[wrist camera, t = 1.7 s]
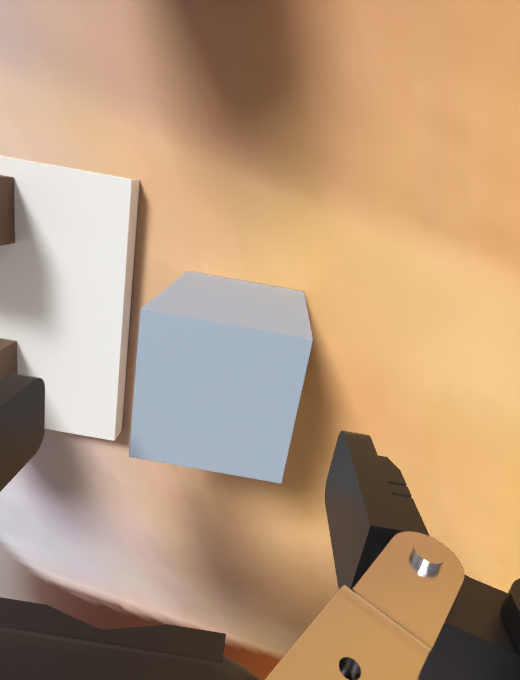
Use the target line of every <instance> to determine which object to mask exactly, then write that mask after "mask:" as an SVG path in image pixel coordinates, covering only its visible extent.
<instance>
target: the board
mask: <svg viewBox="0 0 520 680" xmlns="http://www.w3.org/2000/svg"><path fill="white" fill-rule="evenodd" d="M0 175H4V176H9V177H14V209H15V243H12V244H7V245H2V246H0V338H2V339H8V340H14V341H17V374H20V375H26V376H32V377H38V378H42V379H43V381H44V383H45V427H44V429H50V430H55V431H61V432H67V433H72V434H78V435H84V436H89V437H95V438H101V439H106V440H112V441H115V439H116V438H117V436H118V435H119V434H120V432H121V431H122V420H123V406H124V392H125V378H126V364H127V350H128V336H129V322H130V308H131V294H132V280H133V266H134V252H135V238H136V224H137V210H138V196H139V183H140V180H136V179H130V178H125V177H119V176H113V175H108V174H102V173H97V172H91V171H85V170H80V169H74V168H68V167H63V166H57V165H51V164H46V163H40V162H35V161H29V160H23V159H18V158H12V157H6V156H1V155H0Z"/></svg>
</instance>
